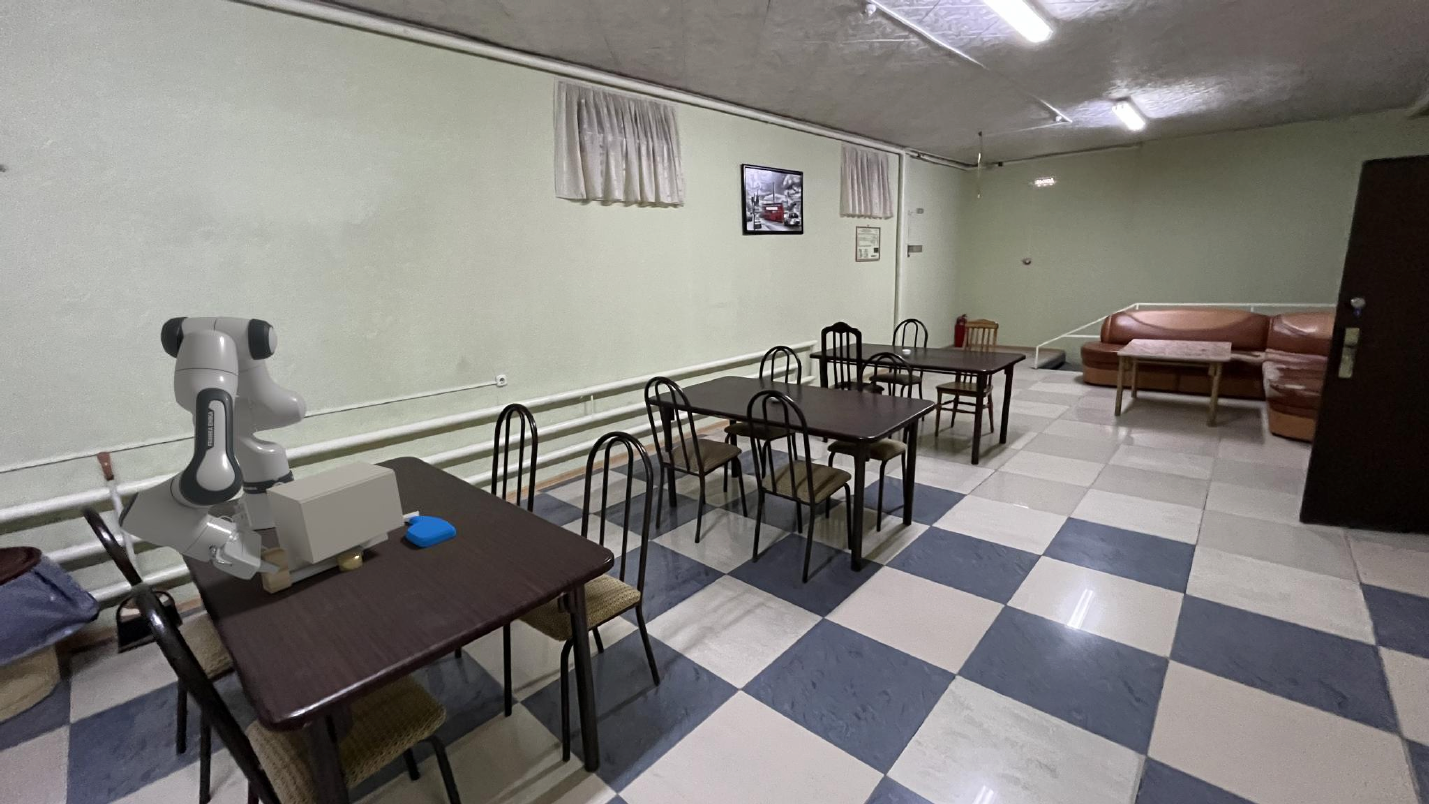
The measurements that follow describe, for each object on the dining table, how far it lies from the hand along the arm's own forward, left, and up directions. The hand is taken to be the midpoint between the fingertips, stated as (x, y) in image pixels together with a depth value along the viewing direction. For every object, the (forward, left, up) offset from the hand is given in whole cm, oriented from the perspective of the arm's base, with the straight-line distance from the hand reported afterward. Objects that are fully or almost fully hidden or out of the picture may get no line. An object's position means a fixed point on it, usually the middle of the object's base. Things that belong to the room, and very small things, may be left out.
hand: (277, 564), depth 132 cm
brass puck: (+4, +14, -6) cm, 15 cm away
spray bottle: (+1, +34, -7) cm, 35 cm away
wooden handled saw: (0, +8, -6) cm, 10 cm away
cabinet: (-1, +16, -6) cm, 17 cm away
